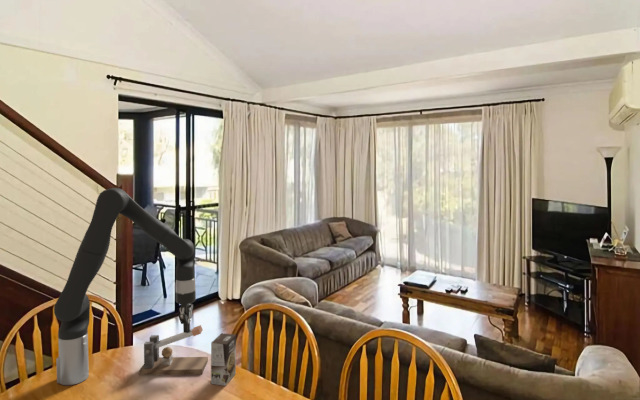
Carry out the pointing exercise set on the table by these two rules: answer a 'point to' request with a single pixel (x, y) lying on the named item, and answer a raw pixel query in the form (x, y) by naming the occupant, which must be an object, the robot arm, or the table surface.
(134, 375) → the table surface
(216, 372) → the coffee box
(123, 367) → the table surface
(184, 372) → the press base
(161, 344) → the lever
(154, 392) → the table surface
